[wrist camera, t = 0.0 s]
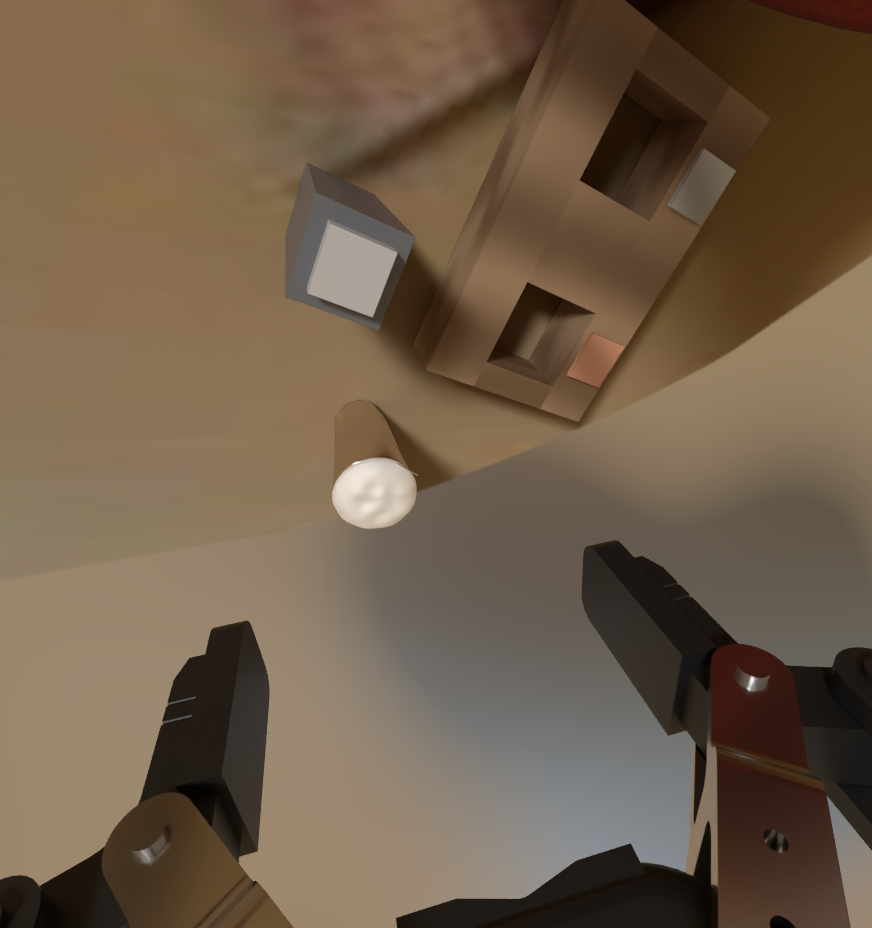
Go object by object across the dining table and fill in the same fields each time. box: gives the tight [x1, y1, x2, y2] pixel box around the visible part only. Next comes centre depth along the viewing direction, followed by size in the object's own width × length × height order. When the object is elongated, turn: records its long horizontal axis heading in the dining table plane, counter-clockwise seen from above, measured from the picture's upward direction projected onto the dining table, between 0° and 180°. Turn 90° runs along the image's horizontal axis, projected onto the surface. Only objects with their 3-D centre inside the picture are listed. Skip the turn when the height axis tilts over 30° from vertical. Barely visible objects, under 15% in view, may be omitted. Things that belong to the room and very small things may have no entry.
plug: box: [285, 163, 415, 330], centre depth 23 cm, size 4×4×12 cm
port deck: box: [413, 0, 771, 422], centre depth 29 cm, size 18×11×4 cm, turn 155°
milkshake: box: [332, 400, 418, 529], centre depth 30 cm, size 4×5×10 cm
